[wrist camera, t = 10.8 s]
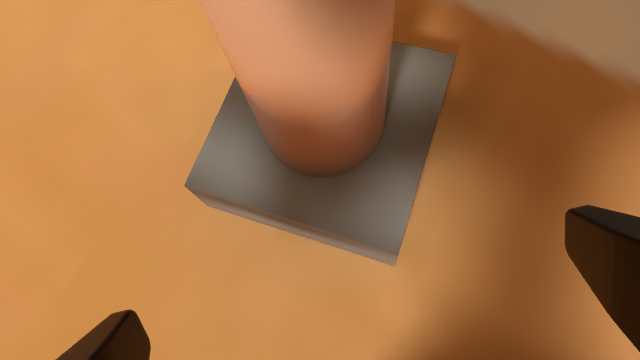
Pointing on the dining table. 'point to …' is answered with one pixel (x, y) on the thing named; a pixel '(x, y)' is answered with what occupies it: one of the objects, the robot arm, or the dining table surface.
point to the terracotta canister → (311, 75)
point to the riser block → (333, 191)
